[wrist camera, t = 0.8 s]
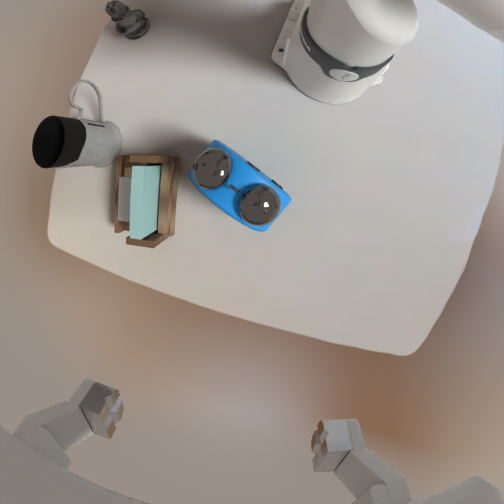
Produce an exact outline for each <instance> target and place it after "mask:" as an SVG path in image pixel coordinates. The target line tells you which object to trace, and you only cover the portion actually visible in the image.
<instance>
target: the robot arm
mask: <svg viewBox="0 0 504 504" xmlns="http://www.w3.org/2000/svg"><path fill="white" fill-rule="evenodd" d="M436 1H438V2H440V3H441V4H443V5H445V6H446V7H448V8H450V9H451V10H453V11H454V12H456V13H457V14H459V15H460V16H462V17H463V18H465V19H466V20H467V21H469V22H470V23H472V24H473V25H474V26H476V27H478V28H480V29H481V30H483V31H485V32H487V33H488V34H490V35H492V36H493V37H495V38H497V39H498V40H500V41H502V42H503V43H504V0H436ZM418 26H419V14H418V10H417V7H416V5H415V3H414V1H413V0H294V2H293V4H292V7H291V8H290V10H289V12H288V16H287V18H286V20H285V23H284V25H283V28H282V30H281V32H280V35H279V37H278V40H277V42H276V45H275V47H274V50H273V52H272V55H271V58H272V60H273V61H274V62H275V63H276V64H277V65H279V66H280V67H282V68H283V69H284V70H285V71H286V72H287V74H288V76H289V77H290V79H291V80H292V82H293V83H294V84H295V86H296V87H297V88H298V89H299V90H301V91H302V92H303V93H304V94H306V95H307V96H309V97H311V98H313V99H315V100H318V101H320V102H324V103H329V104H342V103H347V102H350V101H353V100H355V99H357V98H358V97H359V96H361V95H362V94H363V93H364V92H365V90H367V89H368V88H369V87H373V86H376V85H378V84H380V83H381V82H382V80H383V73H384V72H385V71H386V69H387V68H388V67H389V62H390V61H391V59H392V58H393V56H394V54H395V53H396V52H397V51H398V50H400V49H401V48H402V47H403V46H404V45H406V44H407V43H408V42H410V41H411V40H412V39H413V38H414V36H415V34H416V32H417V29H418ZM280 49H281V50H283V52H280V51H279V50H280ZM119 396H120V394H119V391H118V390H117V389H114V388H111V387H108V386H105V385H103V384H100V383H98V382H95V381H93V380H90V379H86V380H84V381H83V382H82V384H81V385H80V386H79V388H78V389H77V390H76V392H75V393H74V394H73V396H72V397H71V399H70V400H69V401H68V402H67V401H64V402H62V403H59V404H57V405H54V406H52V407H49V408H47V409H44V410H41V411H39V412H36V413H33V414H31V415H28V416H26V417H25V418H24V420H23V421H22V422H21V424H20V425H19V426H18V428H17V429H16V431H15V432H14V433H13V434H11V433H10V432H9V431H8V430H6V429H5V428H4V427H3V426H1V425H0V504H149V503H146V502H142V501H139V500H136V499H133V498H131V497H128V496H125V495H122V494H119V493H117V492H114V491H112V490H109V489H107V488H105V487H102V486H100V485H98V484H96V483H93V482H91V481H89V480H87V479H85V478H83V477H80V476H79V475H77V474H74V473H73V472H71V471H69V470H67V469H68V467H69V465H70V463H71V460H70V458H69V457H68V456H67V455H66V453H65V452H64V451H66V450H68V449H69V448H71V447H73V446H75V445H76V444H78V443H79V442H81V441H83V440H84V439H86V438H88V437H89V436H91V435H92V434H93V433H95V434H98V435H101V436H104V437H106V438H109V439H111V437H112V435H113V433H114V431H115V429H116V427H115V423H117V422H118V421H120V419H121V417H122V414H123V404H122V401H121V400H120V399H119ZM311 448H312V452H313V453H314V454H315V457H314V458H313V467H314V472H331V471H334V473H335V474H336V476H337V477H338V478H339V479H340V480H341V481H342V483H343V484H344V485H345V486H346V487H347V488H348V489H349V491H350V492H351V493H352V494H353V495H354V496H355V497H356V499H357V500H355V501H354V502H353V503H352V504H504V500H503V497H502V494H501V492H500V490H499V488H498V487H497V486H496V485H495V484H493V483H491V482H490V481H487V480H486V479H484V478H482V477H479V476H474V477H471V478H469V479H467V480H465V481H463V482H460V483H458V484H456V485H454V486H452V487H450V488H447V489H445V490H443V491H440V492H437V493H435V494H432V495H430V496H427V497H424V498H421V499H418V500H416V501H413V502H412V500H411V497H410V493H409V490H408V487H407V483H406V480H405V478H404V477H403V476H402V475H400V474H399V473H398V472H397V471H395V470H394V469H393V468H392V467H390V466H389V465H388V464H387V463H385V462H384V461H383V460H382V459H381V458H379V457H378V456H377V455H376V454H374V453H373V452H372V451H371V450H370V449H366V448H365V444H364V440H363V437H362V433H361V430H360V426H359V423H358V420H357V419H347V420H344V419H342V420H341V419H340V420H321V421H320V422H319V423H318V429H317V430H316V431H314V433H313V436H312V441H311Z"/></svg>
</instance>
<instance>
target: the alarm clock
mask: <svg viewBox="0 0 504 504" xmlns="http://www.w3.org/2000/svg"><path fill="white" fill-rule="evenodd" d="M189 177H190V179H191V181H192V183H193V184H194V185H195V187H196V188H197V189H198V190H199V191H200V192H201V193H202V194H203V195H204V196H205V197H206V198H208V199H209V200H210V201H211V202H212V203H213V204H215V205H216V206H217V207H218V208H220V209H221V210H222V211H224V212H225V213H226V214H228V215H229V216H231V217H232V218H234V219H235V220H237V221H238V222H240V223H242V224H243V225H245V226H247V227H249V228H251V229H253V230H256V231H260V232H263V231H266V230H267V229H268V228H269V227H270V225H271V224H272V223H273V222H274V221H275V219H276V218H277V217H278V216H279V215H280V213H281V212H282V211H283V210H284V209H285V207H286V206H287V205H288V204H289V203H290V201H291V197H290V196H289V195H288V194H287V193H286V192H285V191H284V190H283V188H282V187H281V186H280V185H278V184H277V183H276V182H275V181H274V180H271V179H270V178H268V177H267V176H266V175H265V174H263V173H262V172H261V171H260V170H259V169H257V168H256V167H255V166H253V165H252V164H251V163H250V162H248V161H247V160H245V159H244V158H243V157H241V156H240V155H239V154H237V153H236V152H234V151H233V150H232V149H230V148H229V147H227V146H226V145H224V144H223V143H221V142H220V141H218V140H213V141H212V143H211V144H210V145H209V147H208V148H207V149H206V150H205V151H203V152H202V153H200V154H199V155H198V156H197V158H196V159H195V161H194V164H193V168H192V169H191V171H190V173H189Z"/></svg>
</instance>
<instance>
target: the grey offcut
mask: <svg viewBox="0 0 504 504" xmlns="http://www.w3.org/2000/svg"><path fill="white" fill-rule="evenodd" d="M131 179H132V177H119V195H118V220H121V221H130V198H131Z"/></svg>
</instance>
